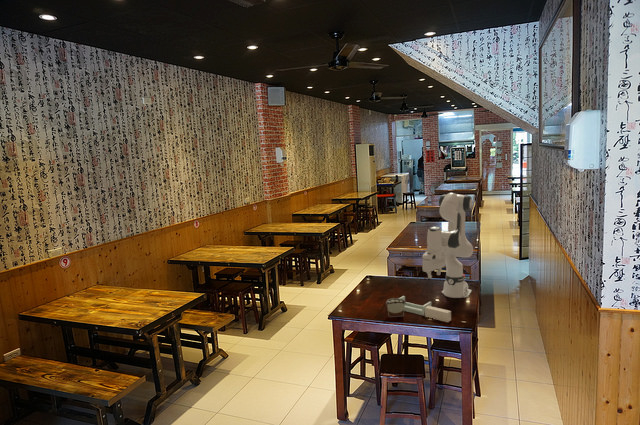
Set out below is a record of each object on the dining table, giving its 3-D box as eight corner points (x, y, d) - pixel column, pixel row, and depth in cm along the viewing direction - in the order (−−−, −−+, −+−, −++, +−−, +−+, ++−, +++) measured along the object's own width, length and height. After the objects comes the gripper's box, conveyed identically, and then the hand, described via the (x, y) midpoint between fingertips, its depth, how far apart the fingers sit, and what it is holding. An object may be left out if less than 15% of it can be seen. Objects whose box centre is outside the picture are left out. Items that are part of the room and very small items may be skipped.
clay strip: (428, 314, 267) (428, 305, 266) (450, 320, 257) (451, 311, 256) (425, 316, 264) (425, 307, 264) (447, 322, 254) (447, 313, 254)
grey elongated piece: (403, 304, 287) (403, 295, 286) (431, 310, 273) (431, 301, 272) (395, 308, 279) (395, 299, 279) (423, 315, 266) (423, 306, 265)
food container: (403, 312, 272) (403, 297, 271) (406, 316, 266) (405, 300, 265) (384, 313, 272) (384, 298, 271) (386, 317, 266) (386, 301, 265)
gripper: (439, 250, 265) (439, 272, 267) (420, 256, 251) (420, 279, 253) (448, 251, 261) (448, 274, 262) (429, 257, 247) (429, 280, 248)
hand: (434, 276), depth 258 cm, fingers open, 8 cm apart
